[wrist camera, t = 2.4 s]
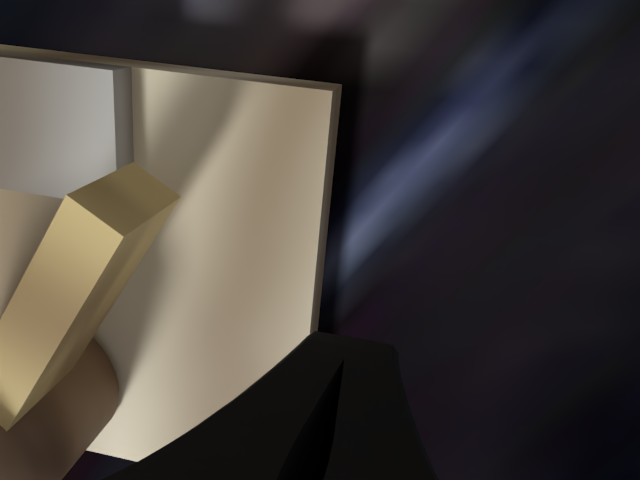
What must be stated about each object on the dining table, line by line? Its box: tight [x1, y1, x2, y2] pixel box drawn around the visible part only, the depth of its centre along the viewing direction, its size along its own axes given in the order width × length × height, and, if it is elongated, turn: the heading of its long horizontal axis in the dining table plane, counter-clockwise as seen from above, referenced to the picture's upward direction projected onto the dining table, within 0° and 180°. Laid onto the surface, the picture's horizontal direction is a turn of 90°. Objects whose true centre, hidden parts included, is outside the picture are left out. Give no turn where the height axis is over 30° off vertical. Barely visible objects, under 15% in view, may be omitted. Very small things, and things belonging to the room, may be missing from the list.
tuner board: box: [0, 44, 342, 462], centre depth 16 cm, size 16×11×2 cm
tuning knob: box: [0, 162, 181, 480], centre depth 13 cm, size 10×4×5 cm, turn 145°
